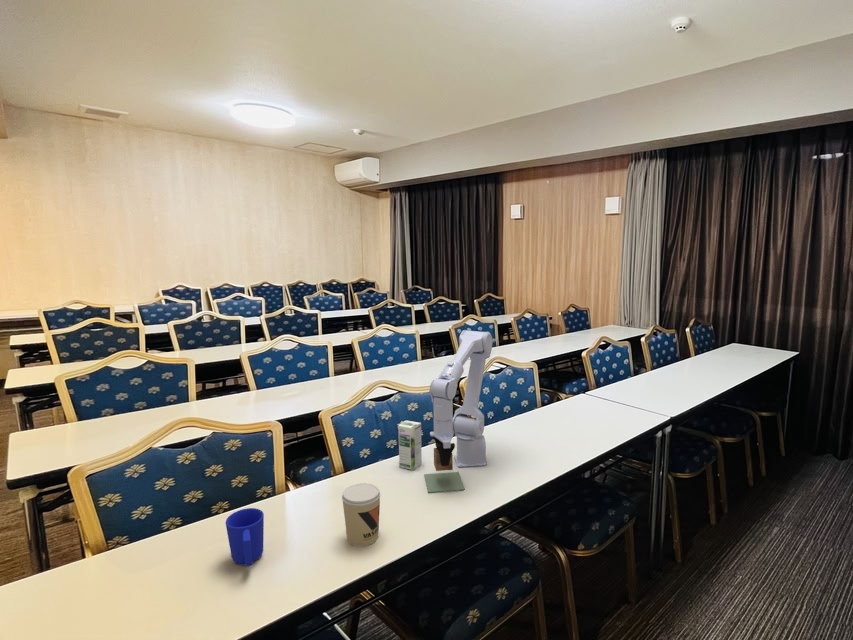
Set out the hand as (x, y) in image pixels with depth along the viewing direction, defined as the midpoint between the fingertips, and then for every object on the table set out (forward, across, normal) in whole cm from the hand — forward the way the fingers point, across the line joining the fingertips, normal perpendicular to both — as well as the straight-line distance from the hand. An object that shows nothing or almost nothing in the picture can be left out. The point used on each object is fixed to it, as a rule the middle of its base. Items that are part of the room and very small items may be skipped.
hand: (443, 461), depth 141 cm
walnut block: (+2, 0, 0) cm, 2 cm away
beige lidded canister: (+7, +24, -24) cm, 35 cm away
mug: (+7, +30, -50) cm, 59 cm away
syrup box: (+7, -13, -9) cm, 17 cm away
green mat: (+7, 0, 0) cm, 7 cm away
